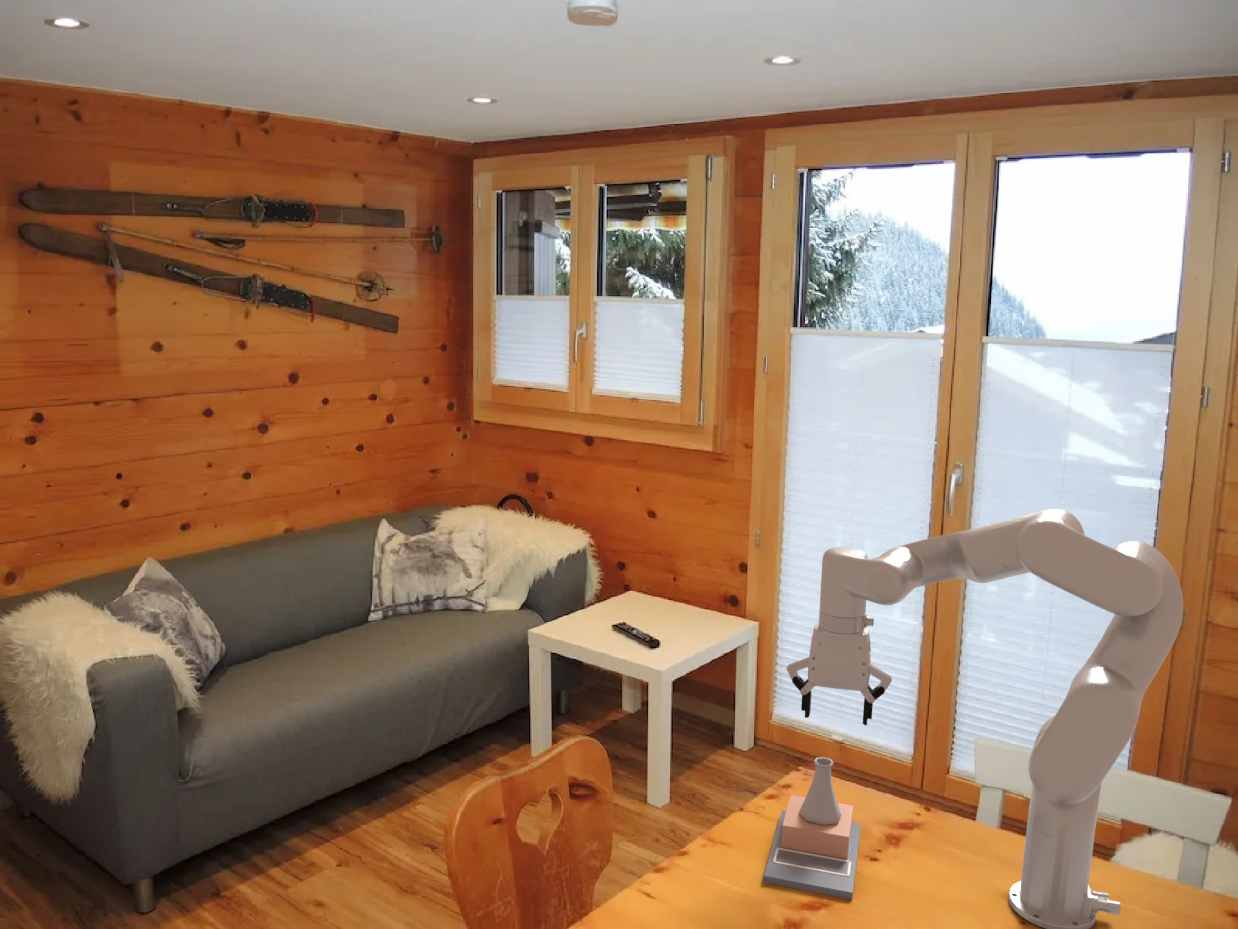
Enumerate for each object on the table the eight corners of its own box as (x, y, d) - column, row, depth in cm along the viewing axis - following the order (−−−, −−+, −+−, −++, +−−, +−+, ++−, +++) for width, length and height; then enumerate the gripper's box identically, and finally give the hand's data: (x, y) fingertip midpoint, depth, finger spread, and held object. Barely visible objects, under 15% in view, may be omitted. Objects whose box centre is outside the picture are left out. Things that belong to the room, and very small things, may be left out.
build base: (860, 830, 180) (862, 803, 180) (852, 899, 160) (854, 869, 159) (781, 816, 184) (783, 789, 183) (763, 882, 164) (765, 853, 163)
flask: (796, 803, 179) (800, 750, 177) (838, 806, 178) (842, 753, 176) (800, 824, 172) (804, 769, 170) (843, 828, 171) (848, 772, 169)
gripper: (895, 620, 171) (888, 716, 174) (792, 610, 176) (787, 703, 178) (895, 634, 164) (888, 734, 167) (787, 623, 168) (782, 720, 171)
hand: (836, 718), depth 173 cm, fingers open, 9 cm apart
